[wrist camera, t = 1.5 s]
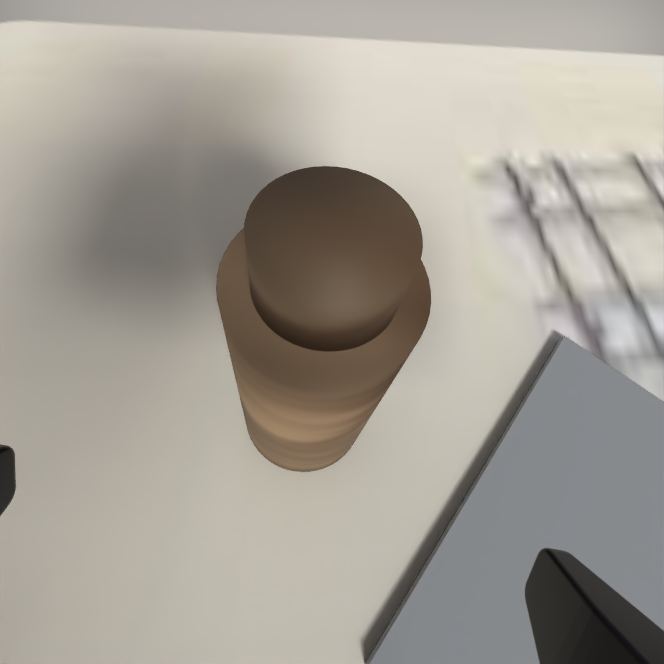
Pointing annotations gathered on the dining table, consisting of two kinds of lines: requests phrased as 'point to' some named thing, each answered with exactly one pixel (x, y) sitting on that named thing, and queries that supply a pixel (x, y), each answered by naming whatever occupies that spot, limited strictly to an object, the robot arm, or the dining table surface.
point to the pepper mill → (320, 309)
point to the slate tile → (544, 517)
